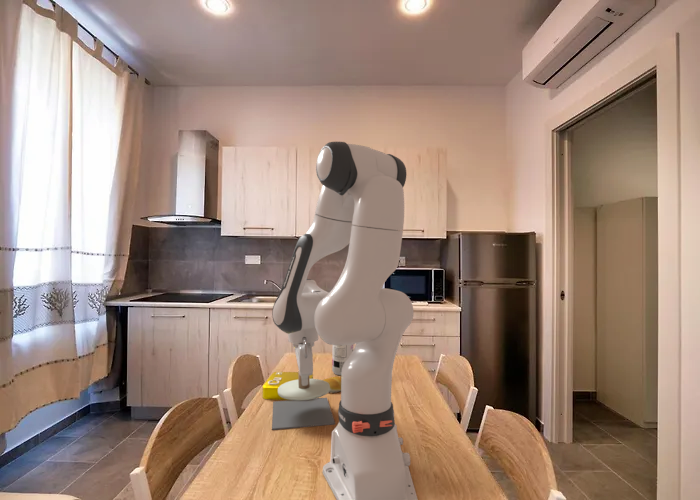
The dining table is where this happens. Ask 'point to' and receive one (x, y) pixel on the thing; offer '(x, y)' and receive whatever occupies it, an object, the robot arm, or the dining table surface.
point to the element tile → (278, 384)
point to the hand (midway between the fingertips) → (304, 382)
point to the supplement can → (340, 357)
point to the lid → (303, 389)
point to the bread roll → (334, 384)
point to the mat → (301, 413)
